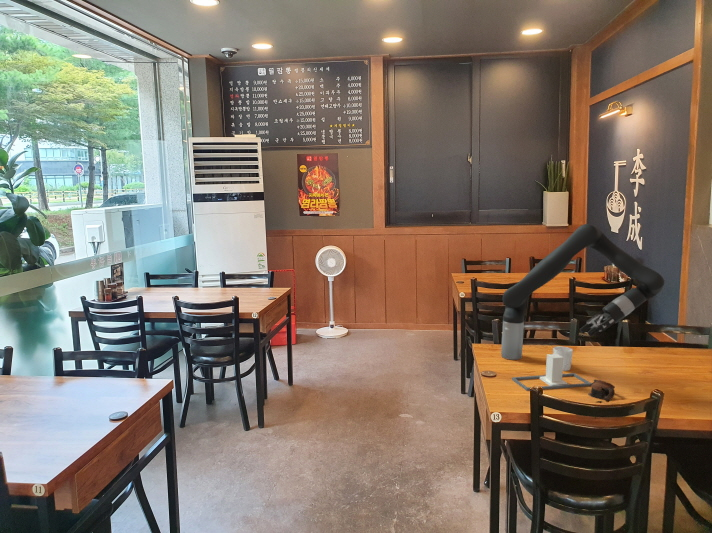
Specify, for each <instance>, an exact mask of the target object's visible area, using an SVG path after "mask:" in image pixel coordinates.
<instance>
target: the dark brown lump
mask: <svg viewBox="0 0 712 533" xmlns="http://www.w3.org/2000/svg"><path fill="white" fill-rule="evenodd" d="M590 383H591V384H590V386H589V387H590V388H591V389H590V392H588V393H587V395H588V396H589V397H592V398H594V399H597V400H599V401H596V402H597V403H599V404H602V402H603V401H602V400H604V401H605V402H610V400H612V399H613V398H614V396H615V388H616V387H615V385H614V384H612V383H609V382H607V381H606V380H605V381H604V380H601V379H596V378H595V379H593V382H590Z"/></svg>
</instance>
